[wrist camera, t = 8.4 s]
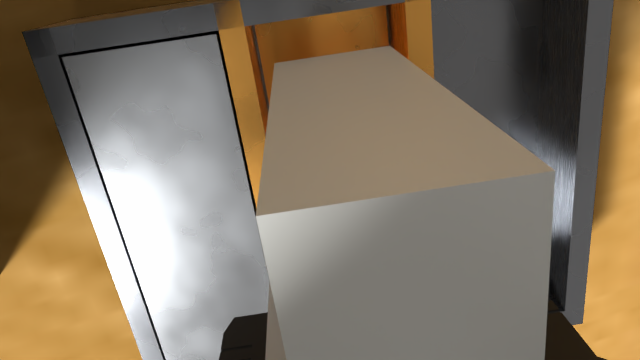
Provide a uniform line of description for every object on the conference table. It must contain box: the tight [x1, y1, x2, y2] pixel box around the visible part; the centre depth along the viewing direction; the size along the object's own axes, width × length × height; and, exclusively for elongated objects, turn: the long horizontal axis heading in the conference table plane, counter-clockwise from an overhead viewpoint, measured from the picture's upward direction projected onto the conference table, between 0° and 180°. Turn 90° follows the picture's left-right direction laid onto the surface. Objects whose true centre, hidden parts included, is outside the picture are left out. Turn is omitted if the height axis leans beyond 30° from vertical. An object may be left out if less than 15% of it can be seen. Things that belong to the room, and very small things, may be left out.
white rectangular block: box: [256, 46, 555, 360], centre depth 13 cm, size 4×11×10 cm, turn 8°
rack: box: [22, 0, 614, 360], centre depth 20 cm, size 15×18×4 cm
